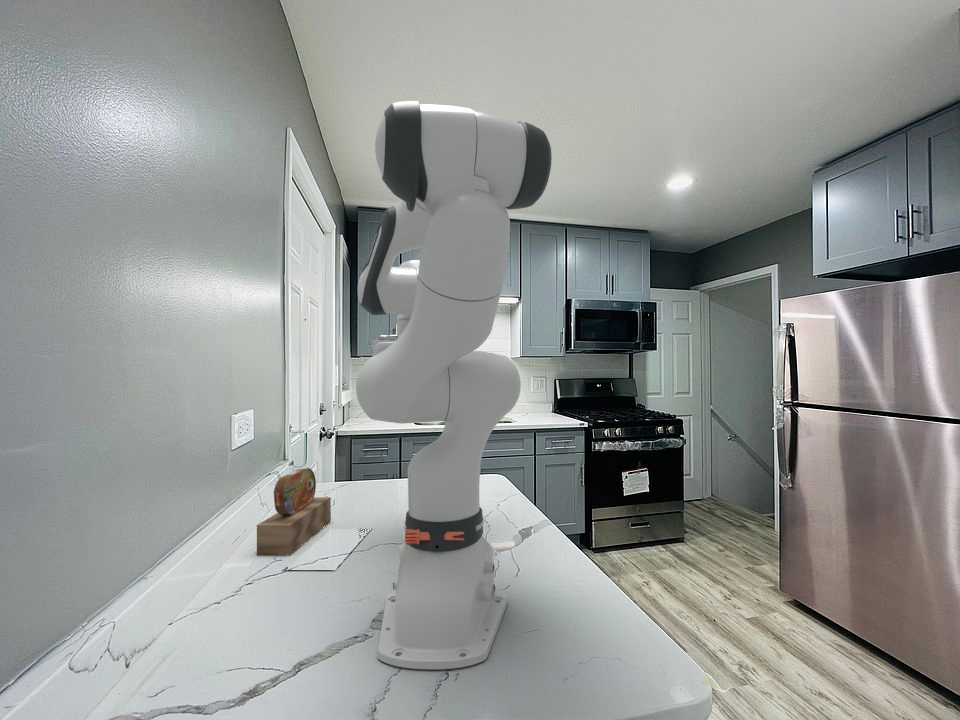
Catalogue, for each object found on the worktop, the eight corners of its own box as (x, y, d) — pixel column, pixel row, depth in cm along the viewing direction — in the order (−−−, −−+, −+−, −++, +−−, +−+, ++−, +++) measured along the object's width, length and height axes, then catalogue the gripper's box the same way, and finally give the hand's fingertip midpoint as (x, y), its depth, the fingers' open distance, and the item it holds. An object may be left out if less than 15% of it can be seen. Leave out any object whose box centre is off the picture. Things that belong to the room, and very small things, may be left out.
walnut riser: (290, 555, 87) (290, 525, 88) (256, 555, 88) (256, 525, 88) (330, 521, 107) (330, 497, 108) (303, 521, 108) (303, 497, 108)
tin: (285, 520, 91) (285, 479, 91) (270, 520, 91) (270, 479, 91) (317, 499, 106) (316, 464, 106) (304, 499, 106) (304, 464, 106)
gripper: (367, 333, 97) (368, 396, 96) (458, 331, 96) (460, 394, 95) (376, 336, 103) (377, 394, 103) (461, 333, 102) (463, 393, 102)
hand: (417, 394), depth 99 cm, fingers open, 8 cm apart
